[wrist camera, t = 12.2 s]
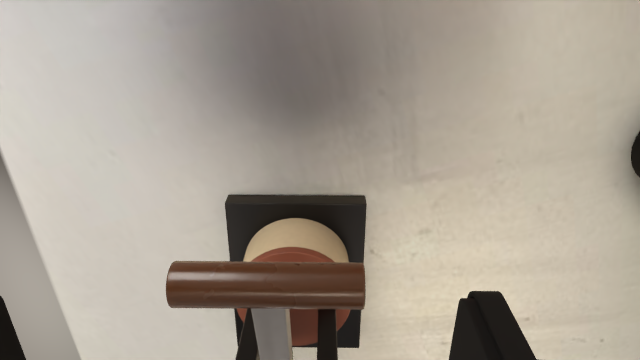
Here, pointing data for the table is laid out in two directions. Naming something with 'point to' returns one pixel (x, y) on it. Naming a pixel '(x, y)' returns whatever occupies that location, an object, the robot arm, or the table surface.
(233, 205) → the bracket
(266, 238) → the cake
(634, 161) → the cup
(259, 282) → the lever
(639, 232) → the table surface
